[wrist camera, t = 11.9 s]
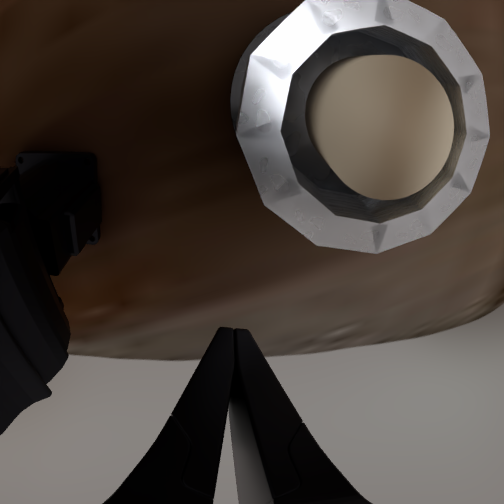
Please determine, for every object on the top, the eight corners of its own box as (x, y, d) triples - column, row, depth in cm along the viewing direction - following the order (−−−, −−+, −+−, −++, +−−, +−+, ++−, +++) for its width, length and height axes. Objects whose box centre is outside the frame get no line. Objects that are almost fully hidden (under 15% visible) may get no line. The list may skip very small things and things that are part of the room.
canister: (217, 182, 19) (207, 242, 13) (250, -12, 12) (258, -56, 7) (392, 211, 20) (441, 271, 14) (438, 49, 14) (514, 57, 8)
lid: (292, 162, 14) (305, 185, 12) (318, 40, 11) (339, 33, 9) (401, 185, 15) (428, 211, 13) (431, 79, 12) (467, 87, 9)
